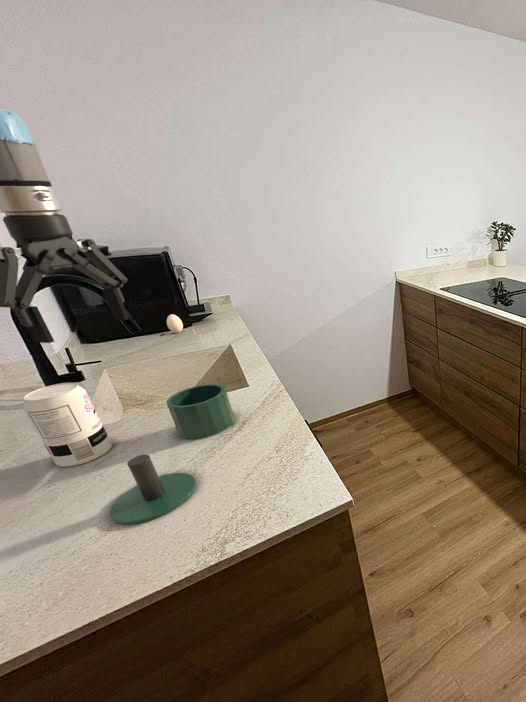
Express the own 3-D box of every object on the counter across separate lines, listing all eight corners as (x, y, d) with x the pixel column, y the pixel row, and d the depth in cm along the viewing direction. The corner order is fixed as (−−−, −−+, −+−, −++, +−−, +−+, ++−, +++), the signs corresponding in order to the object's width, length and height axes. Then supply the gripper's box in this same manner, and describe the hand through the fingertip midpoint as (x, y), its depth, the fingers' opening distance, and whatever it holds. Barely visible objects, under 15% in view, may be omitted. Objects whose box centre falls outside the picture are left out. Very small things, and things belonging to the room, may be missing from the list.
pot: (172, 445, 79) (158, 411, 75) (188, 420, 88) (176, 388, 84) (229, 435, 82) (218, 401, 79) (239, 412, 91) (229, 381, 88)
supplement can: (47, 465, 73) (7, 398, 67) (97, 441, 81) (65, 378, 75) (74, 473, 71) (35, 404, 65) (123, 447, 78) (92, 384, 72)
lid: (98, 536, 58) (73, 492, 54) (131, 487, 68) (112, 447, 64) (185, 515, 61) (167, 473, 58) (205, 471, 71) (190, 433, 68)
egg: (187, 331, 147) (181, 313, 144) (174, 335, 143) (168, 316, 140) (180, 330, 149) (174, 312, 146) (167, 333, 145) (161, 315, 142)
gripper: (-52, 217, 53) (24, 354, 62) (123, 211, 76) (161, 312, 84) (-93, 218, 54) (-14, 353, 63) (92, 211, 77) (132, 311, 85)
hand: (87, 329), depth 74 cm, fingers open, 13 cm apart
